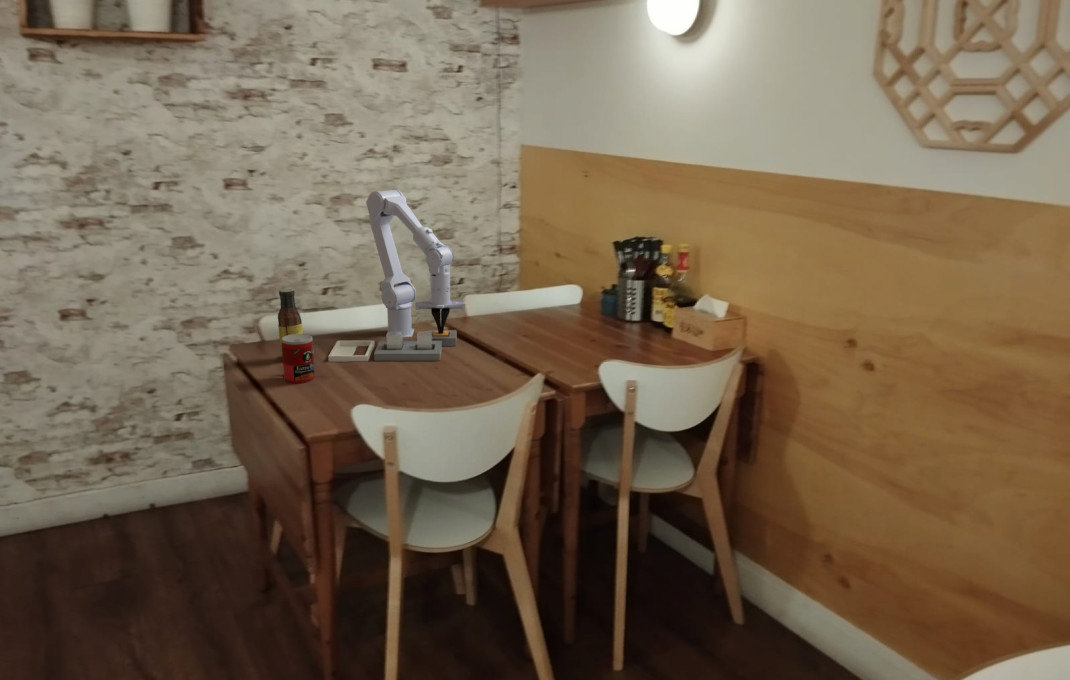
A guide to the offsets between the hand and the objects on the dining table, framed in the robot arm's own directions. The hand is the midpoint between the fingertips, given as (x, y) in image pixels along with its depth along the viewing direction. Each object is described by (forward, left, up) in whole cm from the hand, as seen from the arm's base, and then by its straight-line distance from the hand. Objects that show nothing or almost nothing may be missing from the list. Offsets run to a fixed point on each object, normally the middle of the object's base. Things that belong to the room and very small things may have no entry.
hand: (440, 332), depth 247 cm
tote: (+11, -25, -3) cm, 27 cm away
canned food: (+32, -35, -4) cm, 48 cm away
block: (+12, -4, -3) cm, 13 cm away
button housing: (0, 0, -3) cm, 3 cm away
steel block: (+12, -12, -3) cm, 18 cm away
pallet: (+12, -9, -3) cm, 15 cm away
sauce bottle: (+16, -40, -4) cm, 43 cm away
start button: (0, 0, -3) cm, 3 cm away
